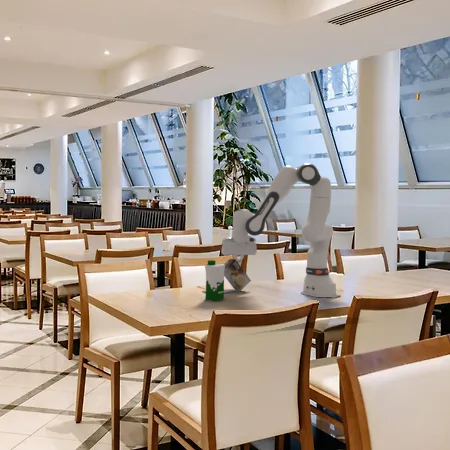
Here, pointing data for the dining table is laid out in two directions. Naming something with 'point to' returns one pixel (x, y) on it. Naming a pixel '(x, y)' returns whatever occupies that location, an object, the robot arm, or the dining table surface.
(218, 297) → the milk carton
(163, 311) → the dining table surface
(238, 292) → the mat
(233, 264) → the coffee box
